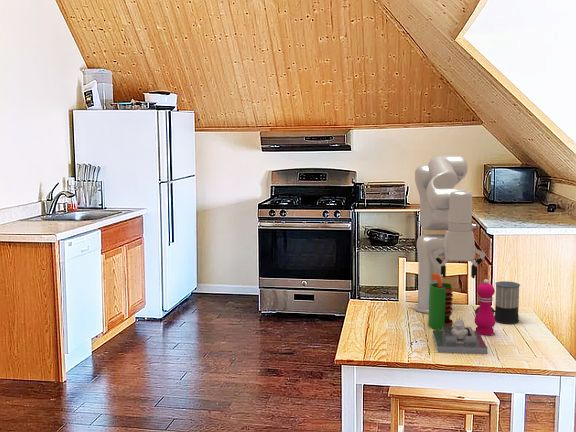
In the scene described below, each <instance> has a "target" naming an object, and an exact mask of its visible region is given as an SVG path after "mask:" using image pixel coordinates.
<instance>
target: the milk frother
mask: <svg viewBox="0 0 576 432" xmlns="http://www.w3.org/2000/svg"><path fill="white" fill-rule="evenodd" d="M494 283H495V306H494V307H495V308H494V307H492V306H491V308H492V312H493V315H494V317H495V323H499V324H505V325H515V324H518V323H519V321H520V320H519V318H520V317H519V316H520V315H519V306H520V305H519V304H520V286H521V284H520V283H518V282H514V281H510V280H509V281H508V280H507V281H504V280H503V281H501V280H500V281H497V282H494ZM478 310H479V306H478V307H477V308H475V309H474V314H475V315H476V314H477V312H478Z"/></svg>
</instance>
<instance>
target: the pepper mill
mask: <svg viewBox="0 0 576 432" xmlns="http://www.w3.org/2000/svg"><path fill="white" fill-rule="evenodd" d="M489 281H490V280H488V279H486V278H485V279H484V280H483V283H480V284H479V285H478V287H477V288H476V289H477V290H476V292H477V295H478V301H479V305H478V307H479V310H478V312H477V314H475V316H474V317H475V318H474V324H475V326H476V327H475V332H479V334H480V335H481V336H483V337H485V336H486V337H487V336H489V337H490V336H493V335H494V328H493V327H495V325H496V321H495V314H494V315H493V312H492V308H493V307H492V302H493V301H494V300H493V299H494V297H493V295H495V293H496V289H495V286H494V285H492V284H491V283H489ZM491 307H492V308H491Z"/></svg>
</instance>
